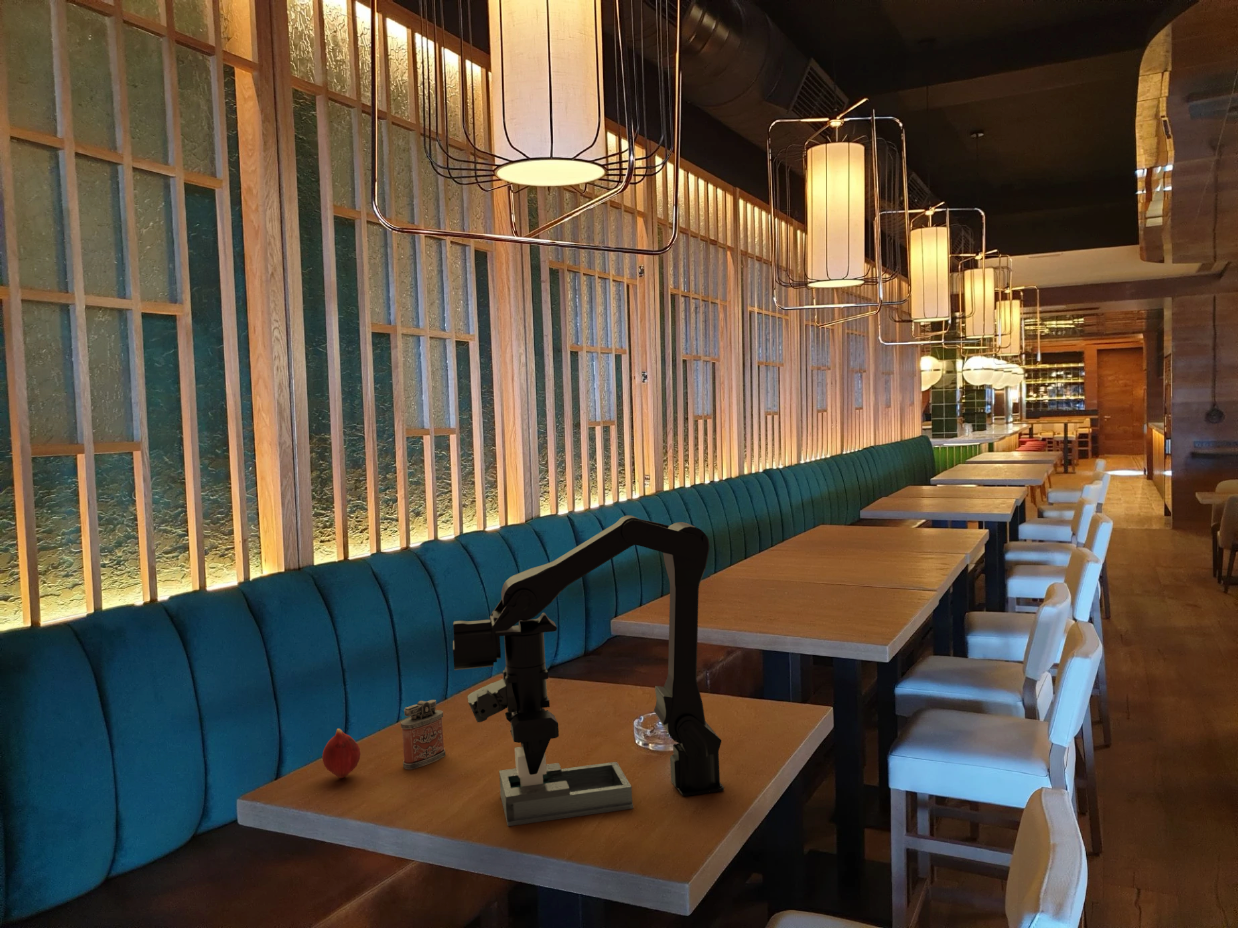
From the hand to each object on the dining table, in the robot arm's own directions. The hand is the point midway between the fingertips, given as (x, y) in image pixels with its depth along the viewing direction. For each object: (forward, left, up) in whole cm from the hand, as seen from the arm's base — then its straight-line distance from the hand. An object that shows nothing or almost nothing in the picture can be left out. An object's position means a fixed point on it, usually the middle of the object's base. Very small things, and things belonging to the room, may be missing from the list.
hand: (531, 768), depth 135 cm
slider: (0, 0, -5) cm, 5 cm away
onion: (+28, -21, -6) cm, 36 cm away
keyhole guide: (-5, 0, -6) cm, 7 cm away
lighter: (+15, -24, -6) cm, 29 cm away
